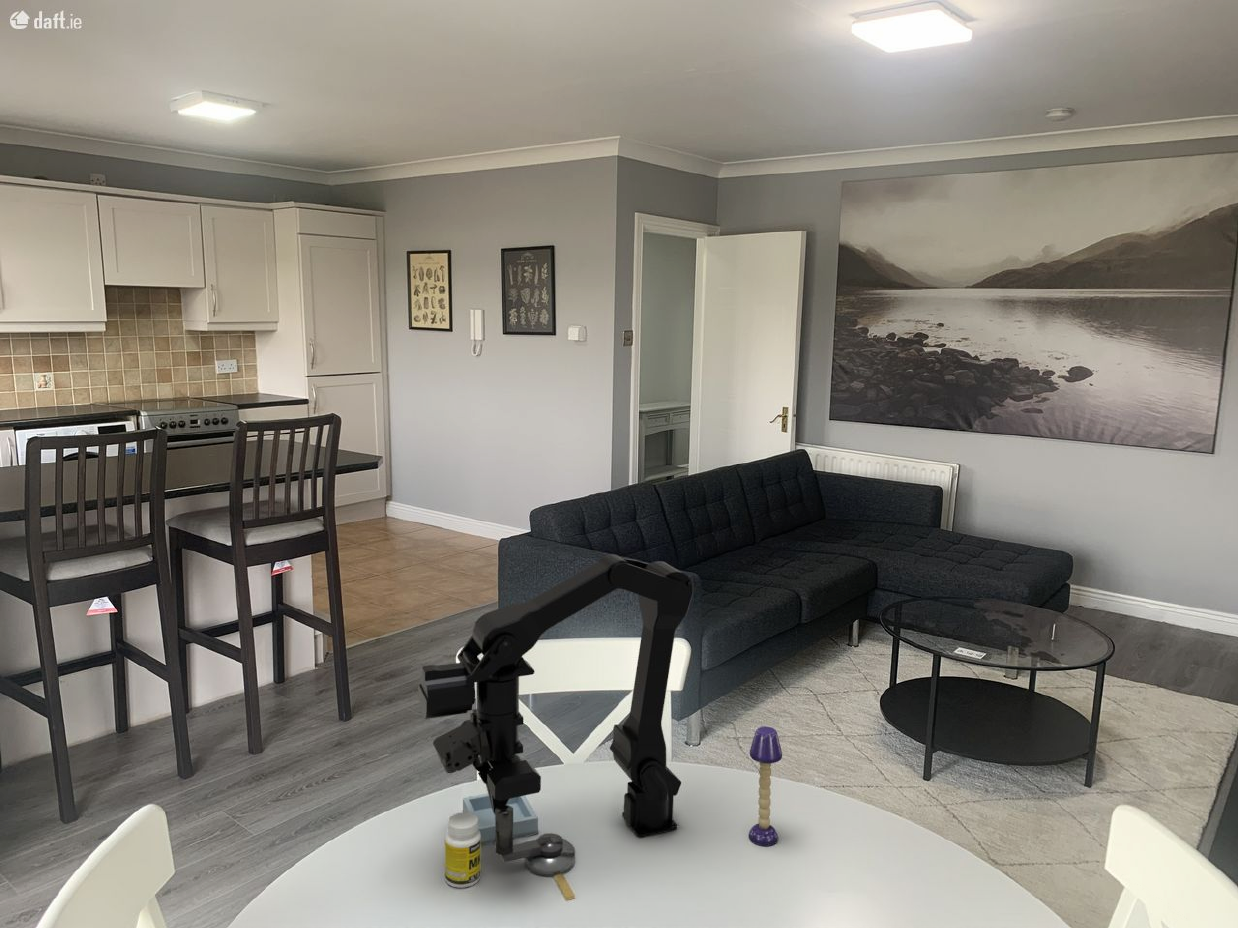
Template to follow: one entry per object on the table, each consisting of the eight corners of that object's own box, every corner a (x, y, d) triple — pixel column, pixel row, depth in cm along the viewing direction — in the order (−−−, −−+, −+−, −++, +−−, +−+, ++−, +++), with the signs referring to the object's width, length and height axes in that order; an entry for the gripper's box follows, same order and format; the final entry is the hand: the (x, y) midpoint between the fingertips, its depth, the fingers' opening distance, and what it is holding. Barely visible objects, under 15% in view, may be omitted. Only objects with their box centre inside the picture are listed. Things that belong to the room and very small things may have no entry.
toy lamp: (741, 841, 131) (747, 733, 128) (749, 824, 135) (755, 720, 132) (774, 849, 129) (780, 740, 126) (781, 832, 133) (787, 726, 130)
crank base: (565, 842, 129) (565, 832, 129) (595, 893, 118) (596, 882, 118) (518, 852, 127) (518, 842, 126) (544, 905, 115) (544, 894, 115)
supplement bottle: (473, 891, 118) (473, 832, 116) (439, 885, 119) (439, 827, 117) (485, 869, 122) (486, 812, 121) (453, 864, 123) (453, 808, 122)
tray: (520, 802, 139) (520, 787, 139) (537, 833, 131) (538, 817, 131) (462, 813, 136) (462, 797, 136) (477, 845, 128) (477, 829, 127)
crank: (557, 838, 127) (558, 792, 126) (566, 853, 123) (567, 805, 122) (491, 852, 123) (492, 804, 122) (498, 867, 120) (499, 818, 119)
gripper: (422, 689, 127) (423, 791, 130) (457, 747, 110) (457, 863, 113) (498, 677, 132) (498, 776, 134) (542, 731, 115) (541, 843, 118)
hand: (497, 812), depth 125 cm, fingers closed
